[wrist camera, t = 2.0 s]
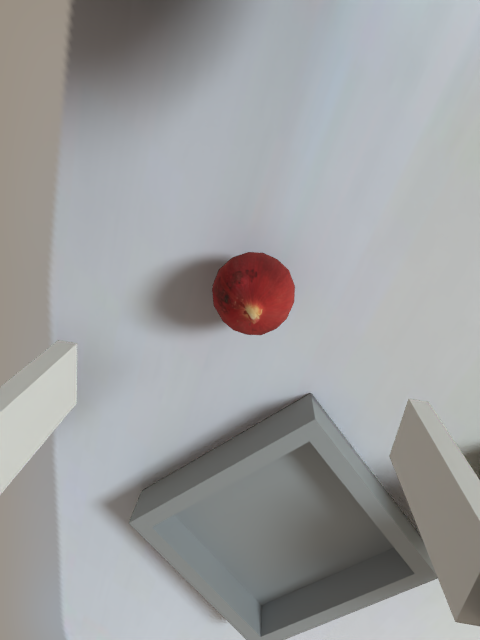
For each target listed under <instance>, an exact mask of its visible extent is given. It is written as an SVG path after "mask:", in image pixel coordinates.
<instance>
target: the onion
mask: <svg viewBox="0 0 480 640" xmlns="http://www.w3.org/2000/svg"><path fill="white" fill-rule="evenodd" d="M294 291H295V286H294V283H293V280H292V278H291V275H290V272H289V270H288V269H287V268H286V267H285V266H284V265H283V264H282V263H281V262H279V261H278V260H277V259H275V258H273V257H271V256H269V255H266V254H264V253H254V252H248V253H245V254H242V255H239V256H236V257H233V258H232V259H230V260H229V261H228V262H227V263H226V264H225V265H224V266H223V267H221V268H220V269H219V271H218V273H217V276H216V279H215V281H214V284H213V288H212V292H213V302H214V307H215V308H216V310H217V312H218V313H219V315H220V317H221V319H222V321H223V322H225V323H226V324H227V325H228V326H229V327H231V328H232V329H233V330H235V331H238V332H241V333H244V334H247V335H263V334H265V333H267V332H270V331H272V330H274V329H276V328H277V327H278V326H279V325H281V324H282V323H283V322H284V321H285V320H286V319H287V317H288V314H289V312H290V310H291V308H292V306H293V303H294Z"/></svg>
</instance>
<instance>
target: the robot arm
mask: <svg viewBox="0 0 480 640" xmlns="http://www.w3.org/2000/svg"><path fill="white" fill-rule="evenodd" d="M76 403H77V343H72V342H66V341H60V340H58V341H57V342H55V343H54V344H53V345H52V346H50V347H49V348H48V349H47V350H45V351H44V352H43V353H42V354H40V355H39V356H38V357H37V358H36V359H34V360H33V361H32V362H30V363H29V364H28V365H27V366H26V367H24V368H23V369H22V370H20V371H19V372H18V373H17V374H16V375H14V376H13V377H12V378H11V379H9V380H8V381H7V382H6V383H4V384H3V385H2V386H1V387H0V495H1V493H2V492H3V491H4V490H5V489H6V487H7V486H8V485H9V484H10V483H11V481H12V480H13V479H14V478H15V477H16V475H17V474H18V473H19V472H20V470H21V469H22V468H23V467H24V466H25V464H26V463H27V462H28V461H29V460H30V459H31V457H32V456H33V455H34V454H35V453H36V451H37V450H38V449H39V448H40V447H41V445H42V444H43V443H44V442H45V441H46V439H47V438H48V437H49V436H50V435H51V433H52V432H53V431H54V430H55V429H56V427H57V426H58V425H59V424H60V423H61V421H62V420H63V419H64V418H65V417H66V415H67V414H68V413H69V412H70V411H71V409H72V408H73V407H74V406H75V405H76ZM390 459H391V461H392V464H393V466H394V469H395V471H396V474H397V476H398V479H399V481H400V484H401V486H402V489H403V491H404V494H405V496H406V499H407V502H408V504H409V507H410V509H411V512H412V514H413V517H414V519H415V522H416V524H417V527H418V529H419V532H420V534H421V537H422V539H423V542H424V544H425V547H426V549H427V552H428V554H429V557H430V559H431V562H432V564H433V567H434V569H435V572H436V574H437V577H438V579H439V582H440V584H441V587H442V589H443V592H444V594H445V597H446V599H447V602H448V605H449V607H450V610H451V612H452V615H453V617H454V620H455V622H459V623H464V624H470V625H476V626H480V480H479V478H478V477H477V475H476V474H475V472H474V471H473V469H472V468H471V466H470V464H469V463H468V461H467V460H466V458H465V457H464V455H463V454H462V452H461V451H460V449H459V448H458V446H457V445H456V443H455V442H454V440H453V439H452V437H451V436H450V434H449V432H448V431H447V429H446V428H445V426H444V425H443V423H442V422H441V420H440V419H439V417H438V416H437V414H436V413H435V411H434V410H433V408H432V407H431V405H430V403H429V402H426V401H420V400H414V399H408V402H407V405H406V408H405V411H404V414H403V417H402V420H401V423H400V426H399V429H398V432H397V435H396V438H395V441H394V444H393V447H392V450H391V453H390Z"/></svg>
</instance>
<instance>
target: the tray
mask: <svg viewBox="0 0 480 640" xmlns="http://www.w3.org/2000/svg"><path fill="white" fill-rule="evenodd" d="M129 524H130V525H131V526H132V527H133V528H134V529H135V530H136V531H137V532H138V533H139V534H140V535H141V536H142V537H143V538H144V539H145V540H146V541H147V542H148V543H149V544H150V545H151V546H152V547H153V548H154V549H155V550H156V551H157V552H158V553H159V554H160V555H161V556H162V557H163V558H164V559H165V560H166V561H167V562H168V563H169V564H170V565H171V566H173V567H174V568H175V569H176V570H177V571H178V572H179V573H180V574H181V575H182V576H183V577H184V578H185V579H186V580H187V581H188V582H189V583H190V584H191V585H192V586H193V587H194V588H195V589H196V590H197V591H198V592H199V593H200V594H201V595H202V596H203V597H204V598H205V599H206V600H207V601H208V602H209V603H210V604H211V605H212V606H213V607H214V608H215V609H216V610H217V611H218V612H219V613H220V614H221V615H222V616H223V617H224V618H225V619H226V620H227V621H228V622H229V623H230V624H231V625H232V626H233V627H234V628H235V629H236V630H237V631H238V632H239V633H240V634H241V635H242V636H243V637H244V638H245V639H246V640H285V639H287V638H290V637H292V636H295V635H297V634H300V633H302V632H305V631H307V630H310V629H312V628H315V627H317V626H320V625H322V624H325V623H327V622H330V621H332V620H335V619H337V618H340V617H342V616H345V615H347V614H350V613H352V612H355V611H357V610H360V609H362V608H365V607H367V606H370V605H372V604H375V603H377V602H380V601H382V600H385V599H387V598H390V597H392V596H395V595H397V594H400V593H402V592H405V591H407V590H410V589H412V588H415V587H417V586H420V585H422V584H425V583H427V582H430V581H432V580H435V579H437V578H438V577H437V574H436V572H435V569H434V567H433V564H432V562H431V559H430V557H429V554H428V552H427V549H426V547H425V544H424V542H423V539H422V538H421V536H420V535H419V534H418V532H417V531H416V530H415V529H414V527H413V526H412V525H411V523H410V522H409V521H408V519H407V518H406V517H405V515H404V514H403V513H402V511H401V510H400V509H399V508H398V506H397V505H396V504H395V502H394V501H393V500H392V498H391V497H390V496H389V494H388V493H387V492H386V491H385V489H384V488H383V487H382V485H381V484H380V483H379V481H378V480H377V479H376V477H375V476H374V475H373V473H372V472H371V471H370V470H369V468H368V467H367V466H366V464H365V463H364V462H363V460H362V459H361V458H360V456H359V455H358V454H357V453H356V451H355V450H354V449H353V447H352V446H351V445H350V443H349V442H348V441H347V439H346V438H345V437H344V435H343V434H342V433H341V432H340V430H339V429H338V428H337V426H336V425H335V424H334V422H333V421H332V420H331V418H330V417H329V416H328V415H327V413H326V412H325V411H324V409H323V408H322V407H321V405H320V404H319V403H318V401H317V400H316V399H315V397H314V396H313V395H312V394H311V393H310V394H308V395H307V396H305V397H303V398H301V399H300V400H298V401H296V402H294V403H293V404H291V405H289V406H288V407H286V408H284V409H282V410H281V411H279V412H277V413H275V414H274V415H272V416H270V417H269V418H267V419H265V420H263V421H262V422H260V423H258V424H256V425H255V426H253V427H251V428H250V429H248V430H246V431H244V432H243V433H241V434H239V435H238V436H236V437H234V438H232V439H231V440H229V441H227V442H225V443H224V444H222V445H220V446H219V447H217V448H215V449H213V450H212V451H210V452H208V453H206V454H205V455H203V456H201V457H200V458H198V459H196V460H194V461H193V462H191V463H189V464H187V465H186V466H184V467H182V468H181V469H179V470H177V471H175V472H174V473H172V474H170V475H169V476H167V477H165V478H163V479H162V480H160V481H158V482H156V483H155V484H153V485H151V486H150V487H148V488H146V489H144V490H143V491H142V492H141V494H140V497H139V499H138V502H137V504H136V507H135V509H134V511H133V514H132V516H131V519H130V521H129Z"/></svg>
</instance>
